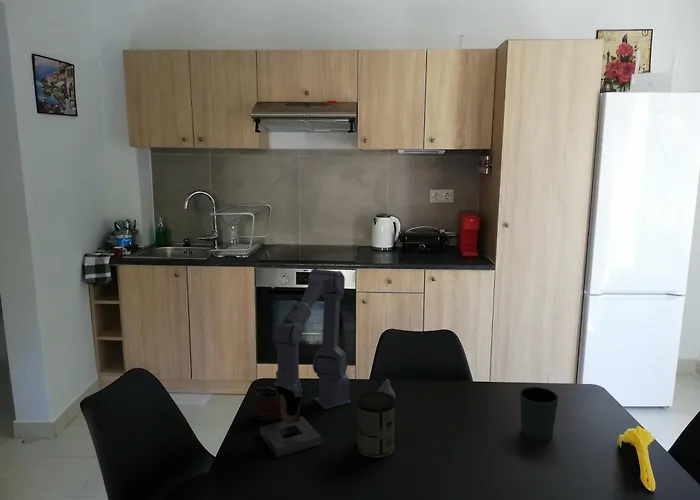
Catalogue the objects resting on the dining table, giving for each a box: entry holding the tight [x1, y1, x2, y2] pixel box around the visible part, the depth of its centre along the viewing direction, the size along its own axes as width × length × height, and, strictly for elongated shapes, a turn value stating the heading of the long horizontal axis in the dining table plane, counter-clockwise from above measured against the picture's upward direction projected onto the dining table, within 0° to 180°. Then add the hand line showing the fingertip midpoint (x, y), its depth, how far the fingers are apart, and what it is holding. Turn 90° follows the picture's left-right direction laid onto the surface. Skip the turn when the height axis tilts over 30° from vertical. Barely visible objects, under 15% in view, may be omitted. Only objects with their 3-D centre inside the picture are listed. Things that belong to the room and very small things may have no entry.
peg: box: [280, 394, 301, 425], centre depth 146 cm, size 4×4×7 cm
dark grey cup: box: [519, 386, 559, 442], centre depth 149 cm, size 10×10×12 cm
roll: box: [377, 378, 396, 399], centre depth 160 cm, size 6×12×6 cm
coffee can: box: [356, 390, 396, 459], centre depth 142 cm, size 10×10×14 cm
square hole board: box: [259, 415, 322, 458], centre depth 147 cm, size 13×13×2 cm
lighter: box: [254, 385, 282, 422], centre depth 159 cm, size 8×3×10 cm, turn 84°
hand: (289, 411), depth 146 cm, fingers closed on peg, 4 cm apart
